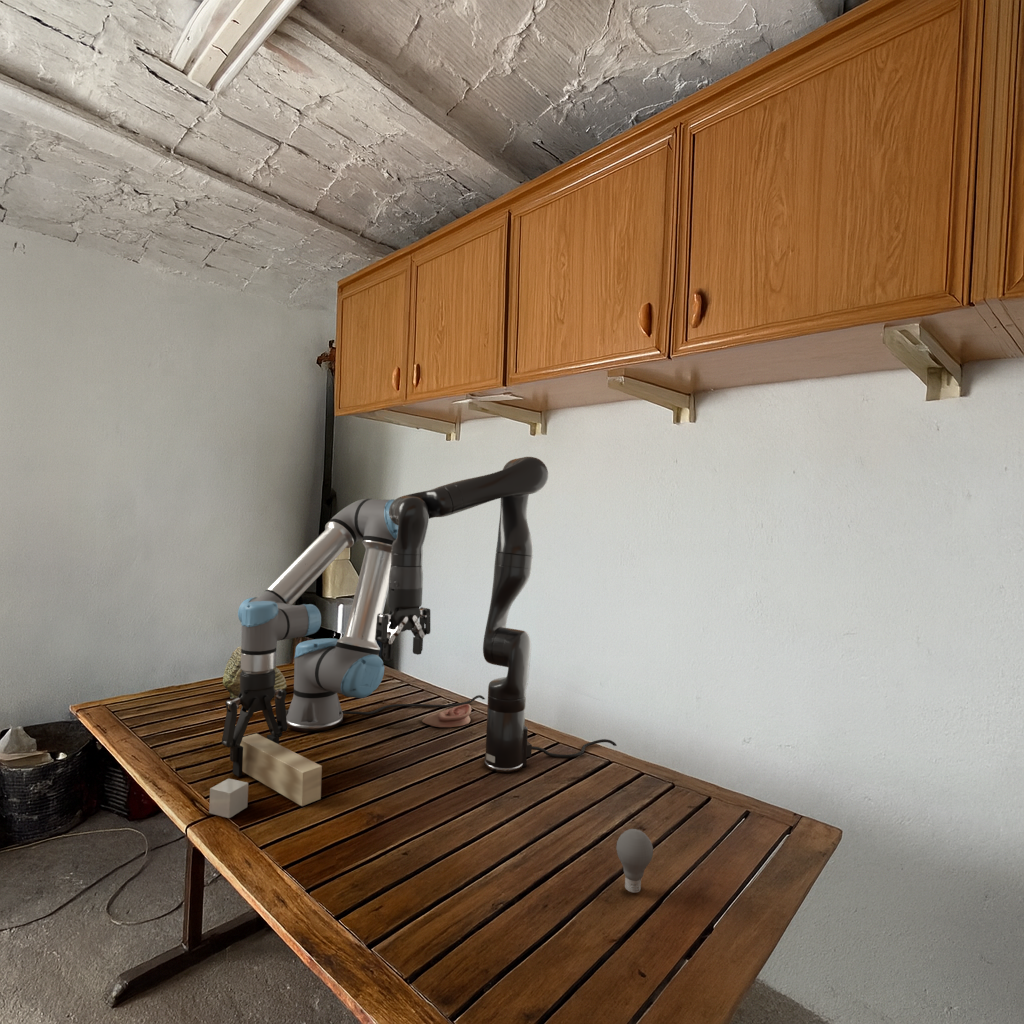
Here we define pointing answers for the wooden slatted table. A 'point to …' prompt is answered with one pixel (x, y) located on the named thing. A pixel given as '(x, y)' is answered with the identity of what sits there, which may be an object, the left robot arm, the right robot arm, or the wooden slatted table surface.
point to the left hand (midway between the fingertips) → (254, 769)
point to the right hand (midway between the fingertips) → (402, 657)
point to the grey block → (228, 798)
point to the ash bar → (281, 769)
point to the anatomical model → (450, 717)
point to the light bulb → (634, 857)
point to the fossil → (233, 675)
